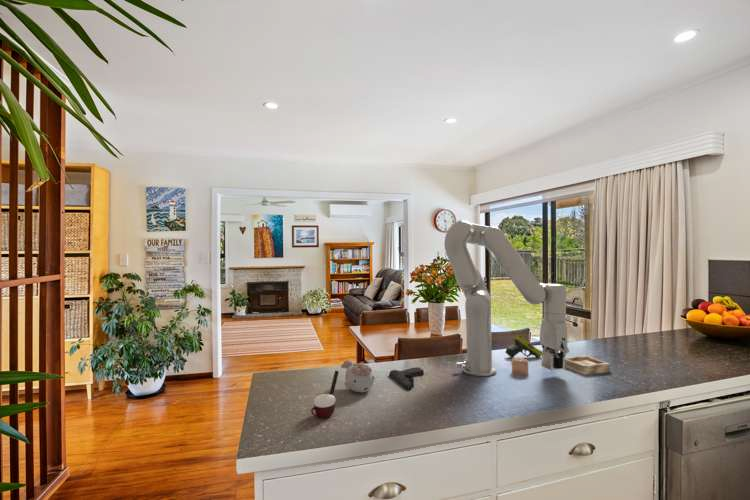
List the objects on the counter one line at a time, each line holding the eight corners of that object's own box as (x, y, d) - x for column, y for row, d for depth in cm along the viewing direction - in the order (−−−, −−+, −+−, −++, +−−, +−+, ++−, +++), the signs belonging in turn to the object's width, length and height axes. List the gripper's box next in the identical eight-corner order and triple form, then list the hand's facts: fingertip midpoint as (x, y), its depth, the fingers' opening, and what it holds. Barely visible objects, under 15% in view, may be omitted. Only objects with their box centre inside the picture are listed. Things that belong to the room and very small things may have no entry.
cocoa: (312, 423, 111) (310, 382, 110) (308, 413, 117) (306, 374, 116) (344, 416, 114) (342, 376, 113) (339, 407, 120) (337, 369, 119)
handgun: (417, 366, 155) (387, 370, 151) (440, 380, 138) (406, 385, 134) (417, 372, 155) (387, 376, 151) (440, 386, 138) (406, 392, 134)
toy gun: (530, 371, 170) (544, 353, 170) (504, 352, 170) (517, 334, 170) (528, 369, 172) (541, 351, 172) (502, 351, 173) (516, 333, 172)
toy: (352, 398, 127) (351, 368, 127) (335, 384, 141) (334, 357, 141) (379, 393, 132) (379, 363, 132) (360, 380, 146) (360, 353, 146)
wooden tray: (583, 374, 147) (583, 366, 147) (561, 365, 158) (561, 357, 158) (610, 371, 149) (610, 363, 149) (586, 363, 161) (586, 355, 161)
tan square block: (517, 376, 147) (517, 362, 147) (508, 371, 153) (508, 358, 153) (531, 374, 148) (531, 361, 148) (522, 369, 154) (522, 357, 154)
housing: (550, 370, 142) (551, 351, 142) (541, 365, 147) (542, 347, 147) (564, 369, 144) (565, 350, 143) (555, 365, 148) (556, 347, 148)
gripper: (531, 313, 152) (530, 359, 153) (561, 322, 136) (560, 373, 136) (548, 313, 154) (546, 358, 154) (580, 321, 138) (578, 372, 138)
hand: (553, 365), depth 145 cm, fingers closed on housing, 5 cm apart
